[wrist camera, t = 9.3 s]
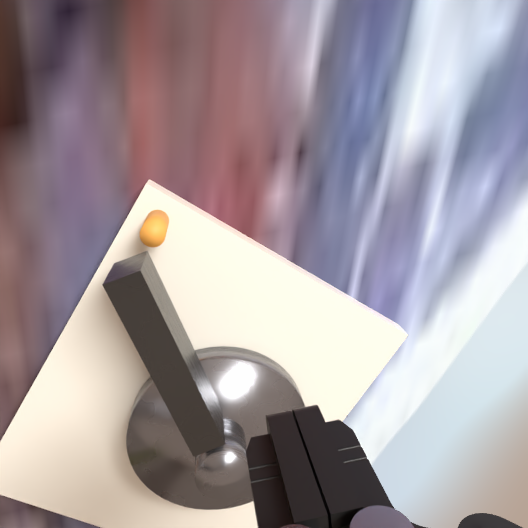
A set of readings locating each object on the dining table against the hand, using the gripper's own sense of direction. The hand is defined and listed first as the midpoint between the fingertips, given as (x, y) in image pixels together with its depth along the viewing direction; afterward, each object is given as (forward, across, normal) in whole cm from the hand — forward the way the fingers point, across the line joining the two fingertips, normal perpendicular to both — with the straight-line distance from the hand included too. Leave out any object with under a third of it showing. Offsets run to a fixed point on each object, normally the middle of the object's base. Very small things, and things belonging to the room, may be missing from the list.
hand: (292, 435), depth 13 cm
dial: (+14, +3, +6) cm, 15 cm away
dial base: (+15, +4, +9) cm, 18 cm away
